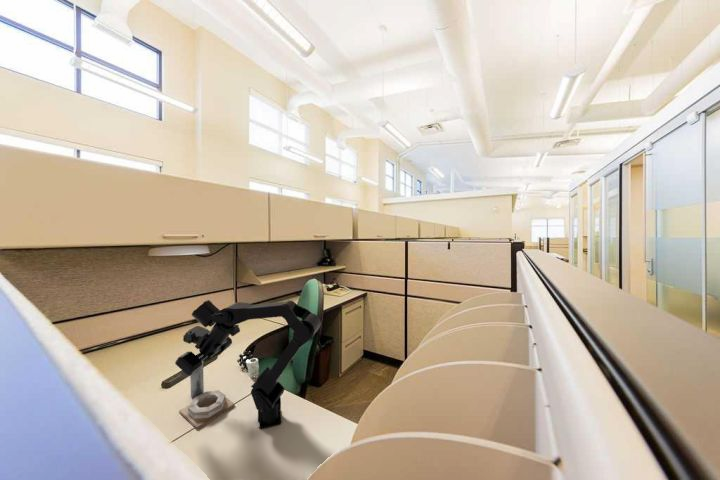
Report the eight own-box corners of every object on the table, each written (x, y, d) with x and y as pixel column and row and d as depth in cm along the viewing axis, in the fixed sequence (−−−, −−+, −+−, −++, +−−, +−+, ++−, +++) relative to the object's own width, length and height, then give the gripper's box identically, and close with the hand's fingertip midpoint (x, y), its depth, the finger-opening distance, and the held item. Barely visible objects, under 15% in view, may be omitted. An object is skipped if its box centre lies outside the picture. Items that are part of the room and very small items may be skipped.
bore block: (234, 405, 88) (234, 397, 88) (197, 429, 78) (197, 420, 78) (216, 392, 94) (215, 384, 94) (179, 412, 84) (179, 404, 84)
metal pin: (204, 390, 95) (204, 359, 94) (202, 397, 92) (201, 365, 91) (192, 392, 94) (191, 361, 93) (189, 399, 90) (188, 367, 89)
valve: (263, 374, 106) (252, 362, 114) (263, 359, 105) (252, 348, 114) (247, 381, 101) (237, 368, 110) (247, 365, 101) (236, 353, 109)
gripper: (219, 309, 93) (198, 340, 95) (175, 331, 74) (149, 368, 77) (242, 329, 92) (220, 359, 95) (203, 356, 74) (176, 393, 76)
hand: (193, 368), depth 86 cm, fingers open, 9 cm apart
